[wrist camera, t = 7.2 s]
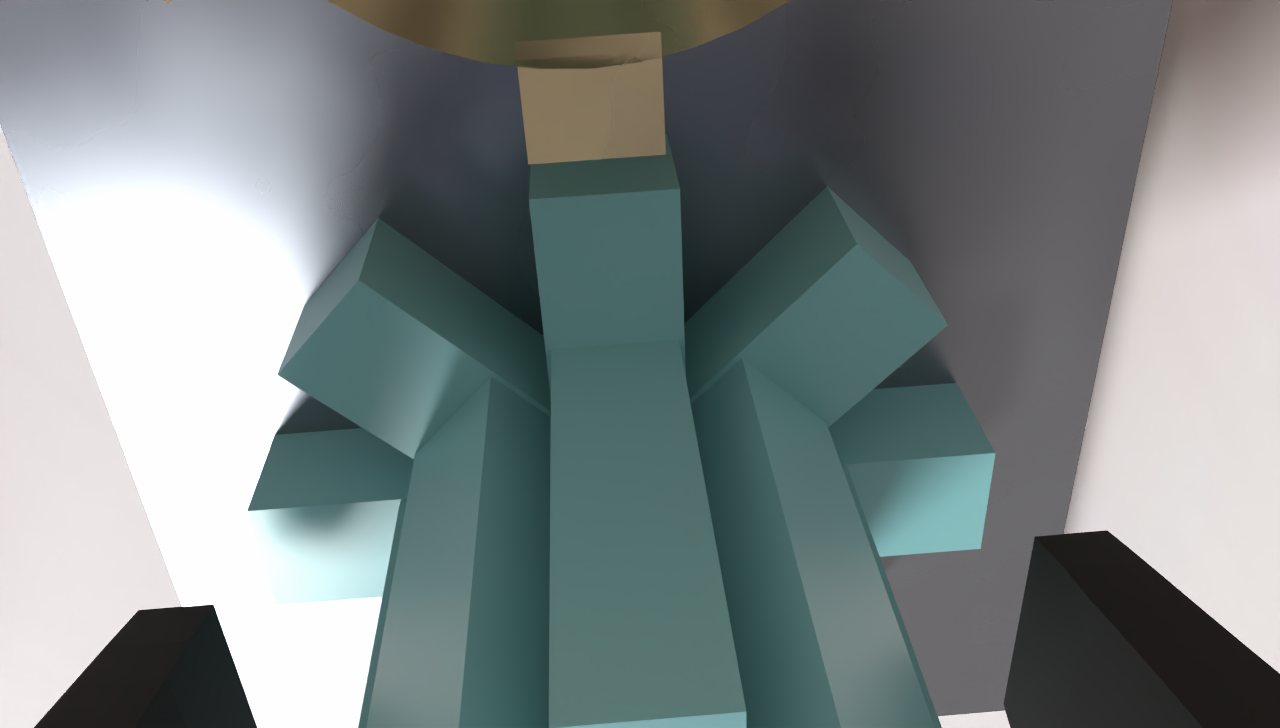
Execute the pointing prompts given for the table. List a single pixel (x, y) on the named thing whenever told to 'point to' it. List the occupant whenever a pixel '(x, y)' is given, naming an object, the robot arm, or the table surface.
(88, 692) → the robot arm
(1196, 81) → the table surface
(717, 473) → the gear
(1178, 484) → the table surface
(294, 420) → the carrier
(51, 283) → the table surface
